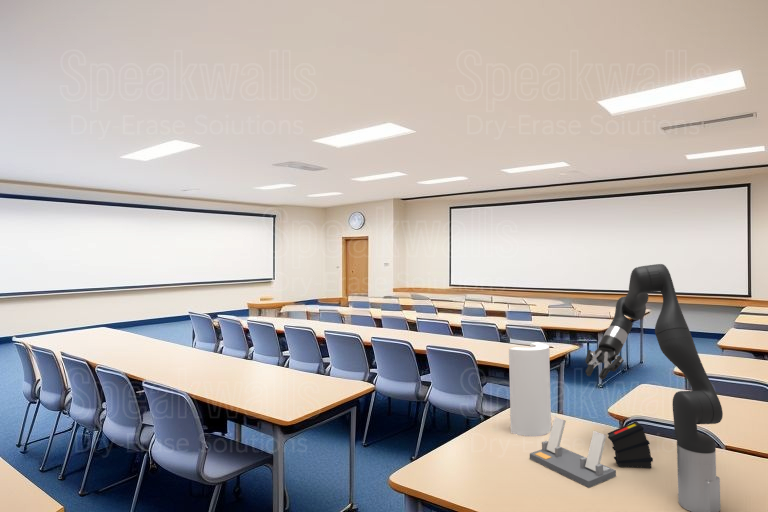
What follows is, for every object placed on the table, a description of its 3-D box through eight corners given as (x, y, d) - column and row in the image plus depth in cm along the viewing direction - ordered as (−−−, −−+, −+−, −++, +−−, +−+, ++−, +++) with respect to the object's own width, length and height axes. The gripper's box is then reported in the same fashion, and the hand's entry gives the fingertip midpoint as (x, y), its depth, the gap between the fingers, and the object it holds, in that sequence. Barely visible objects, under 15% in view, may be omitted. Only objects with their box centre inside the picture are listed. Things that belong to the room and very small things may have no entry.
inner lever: (598, 472, 146) (606, 435, 149) (595, 471, 146) (604, 434, 148) (587, 467, 150) (595, 431, 152) (585, 466, 149) (593, 430, 152)
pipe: (509, 432, 187) (536, 420, 200) (533, 440, 178) (560, 427, 191) (507, 348, 187) (535, 341, 200) (531, 352, 178) (558, 345, 191)
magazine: (662, 464, 152) (641, 424, 153) (625, 479, 153) (605, 439, 154) (657, 459, 156) (636, 420, 157) (621, 474, 157) (601, 435, 158)
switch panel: (616, 476, 148) (615, 461, 148) (588, 487, 141) (588, 471, 141) (555, 450, 169) (555, 436, 169) (529, 458, 162) (529, 445, 162)
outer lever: (557, 453, 160) (565, 420, 163) (555, 453, 160) (563, 419, 162) (548, 449, 164) (556, 417, 166) (546, 449, 163) (554, 416, 166)
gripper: (592, 331, 177) (572, 366, 171) (626, 337, 165) (607, 374, 159) (600, 343, 180) (582, 378, 174) (635, 349, 168) (616, 387, 162)
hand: (594, 376), depth 167 cm, fingers open, 5 cm apart
